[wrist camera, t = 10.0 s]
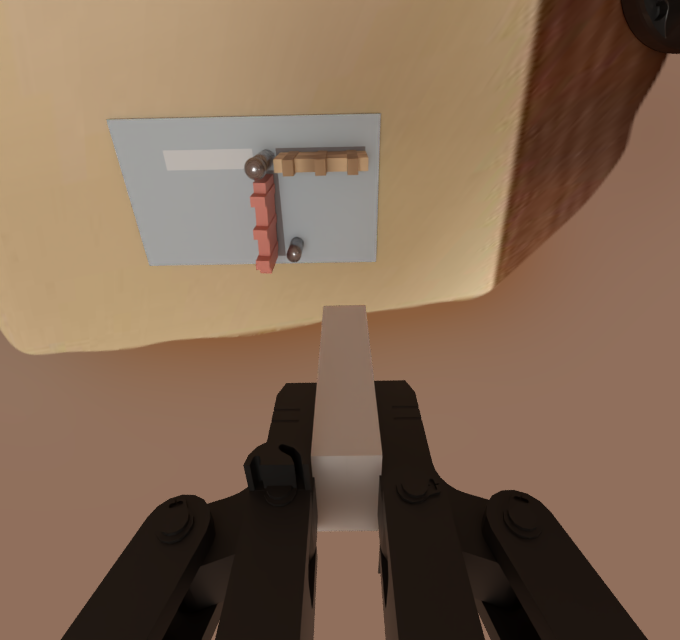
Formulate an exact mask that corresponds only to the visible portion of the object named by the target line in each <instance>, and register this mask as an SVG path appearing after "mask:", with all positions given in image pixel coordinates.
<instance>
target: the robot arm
mask: <svg viewBox="0 0 680 640" xmlns="http://www.w3.org/2000/svg"><path fill="white" fill-rule="evenodd" d="M621 1H622V7H623V11H624V15H625V18H626V20H627V23H628V25H629V27H630V29H631V30H632V32H633V33H634V34H635V36H636V37H637V38H638V39H639V40H640V41H641V42H642V43H644V44H645V45H646V46H648V47H650V48H652V49H654V50H657V51H660V52H664V53H671V54H679V53H680V0H621ZM243 466H244V470H245V474H246V479H247V483H248V487H247V488H246V489H244V490H243V491H241V492H240V493H238V494H235V495H233V496H231V497H228V498H225V499H222V500H218V501H215V502H212V503H209V504H207V503H206V502H205V500H204V499H202V498H200V497H197V496H195V495H180V496H177V497H174V498H170V499H169V500H167V501H165V502H164V503H162V504H161V505H159V506H158V507H157V508H156V509H155V510H154V511H153V512H152V513H151V514H150V515H149V516H148V517H147V519H146V520H145V522H144V523H143V524H142V526H141V527H140V528H139V530H138V531H137V533H136V534H135V536H134V537H133V538H132V540H131V541H130V543H129V544H128V545H127V547H126V548H125V550H124V551H123V553H122V554H121V555H120V557H119V558H118V560H117V561H116V562H115V564H114V565H113V567H112V568H111V569H110V571H109V572H108V574H107V575H106V576H105V578H104V579H103V581H102V582H101V584H100V585H99V586H98V588H97V589H96V591H95V592H94V593H93V595H92V596H91V598H90V599H89V601H88V602H87V603H86V605H85V606H84V608H83V609H82V610H81V612H80V613H79V615H78V616H77V618H76V619H75V620H74V622H73V623H72V624H71V626H70V627H69V629H68V630H67V632H66V633H65V635H64V636H63V637H62V639H61V640H211V638H212V636H213V634H214V631H215V629H216V626H217V624H218V622H219V625H218V629H217V634H216V638H215V640H313V635H314V615H315V594H316V574H317V547H316V540H317V531H378V529H379V538H380V551H379V568H378V573H381V584H382V598H383V610H384V623H385V635H386V640H485V638H484V634H483V630H482V627H481V623H480V619H479V615H480V617H481V619H482V622H483V624H484V626H485V628H486V630H487V632H488V635H489V637H490V639H491V640H648V639H647V638H646V637H645V635H644V634H643V633H642V631H641V630H640V629H639V627H638V626H637V625H636V623H635V622H634V621H633V620H632V618H631V617H630V616H629V614H628V613H627V612H626V610H625V609H624V608H623V606H622V605H621V604H620V603H619V601H618V600H617V598H616V597H615V596H614V595H613V593H612V592H611V591H610V589H609V588H608V587H607V585H606V584H605V583H604V581H603V580H602V579H601V577H600V576H599V575H598V573H597V572H596V571H595V569H594V568H593V567H592V566H591V564H590V563H589V562H588V560H587V559H586V558H585V556H584V555H583V554H582V552H581V551H580V550H579V549H578V547H577V546H576V545H575V543H574V542H573V541H572V539H571V538H570V537H569V535H568V534H567V533H566V531H565V530H564V529H563V528H562V526H561V525H560V524H559V522H558V521H557V520H556V518H555V517H554V516H553V514H552V513H551V512H550V511H549V510H548V509H547V508H546V507H545V506H544V505H543V504H542V503H541V502H540V501H538V500H537V499H535V498H533V497H532V496H530V495H528V494H526V493H523V492H519V491H515V490H505V491H500V492H498V493H496V494H494V495H492V497H491V498H490V500H488V499H484V498H481V497H477V496H474V495H470V494H467V493H464V492H461V491H459V490H456V489H455V488H453V487H451V486H450V485H448V484H447V483H446V482H445V481H444V480H443V479H442V478H440V476H439V475H438V473H437V472H436V471H435V468H434V466H433V463H432V459H431V456H430V451H429V448H428V443H427V439H426V435H425V431H424V427H423V423H422V420H421V415H420V411H419V409H418V403H417V399H416V394H415V392H414V390H413V389H412V388H411V387H410V386H409V385H408V383H407V382H406V381H405V380H402V381H374V377H373V369H372V361H371V351H370V342H369V333H368V324H367V315H366V306H365V305H347V306H323V318H322V331H321V342H320V354H319V365H318V378H317V383H286V384H285V386H284V387H283V388H282V390H281V391H280V392H279V393H278V395H277V397H276V402H275V407H274V412H273V416H272V423H271V425H270V430H269V435H268V440H267V442H266V443H264V444H262V445H260V446H258V447H257V448H256V449H255V450H253V451H252V453H250V454H249V455H248V457H247V459H246V461H245V463H244V465H243ZM478 613H479V615H478ZM219 620H220V621H219Z"/></svg>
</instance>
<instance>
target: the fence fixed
mask: <svg viewBox="0 0 680 640" xmlns="http://www.w3.org/2000/svg"><path fill="white" fill-rule="evenodd" d="M273 165H274V173H283V177H284V176H294V175H295V173H296V172H315V176H326V173H327V172H344V171H347V175H358V171H368V155H367V153H366V151H356V150H346V151H329V152H327V151H318V152H299V151H289V152H281V153H279V154H278V155H277V156H276V157H275V158H274V159H273Z"/></svg>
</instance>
